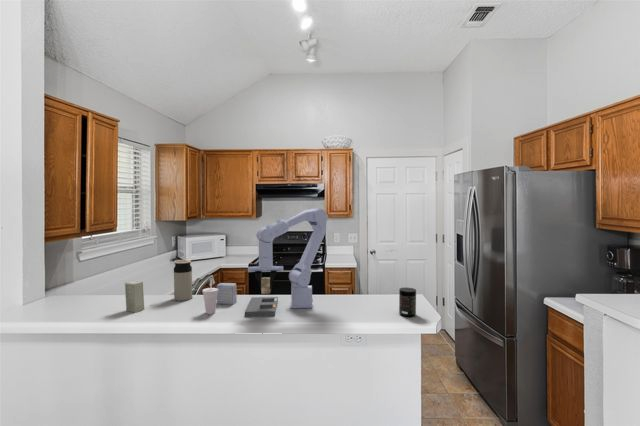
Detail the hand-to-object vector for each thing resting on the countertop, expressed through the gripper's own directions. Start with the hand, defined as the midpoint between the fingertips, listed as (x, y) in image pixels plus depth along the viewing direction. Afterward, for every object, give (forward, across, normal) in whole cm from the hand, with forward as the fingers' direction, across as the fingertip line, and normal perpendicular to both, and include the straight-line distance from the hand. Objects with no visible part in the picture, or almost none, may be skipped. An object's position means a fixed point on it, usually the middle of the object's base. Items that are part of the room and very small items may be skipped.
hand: (265, 288), depth 146 cm
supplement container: (+10, +58, -8) cm, 59 cm away
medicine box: (+10, -19, +13) cm, 25 cm away
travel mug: (+10, -41, +21) cm, 47 cm away
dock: (+10, -2, +4) cm, 11 cm away
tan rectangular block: (+2, 0, 0) cm, 2 cm away
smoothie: (+10, -23, 0) cm, 25 cm away
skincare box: (+10, -56, +5) cm, 57 cm away
